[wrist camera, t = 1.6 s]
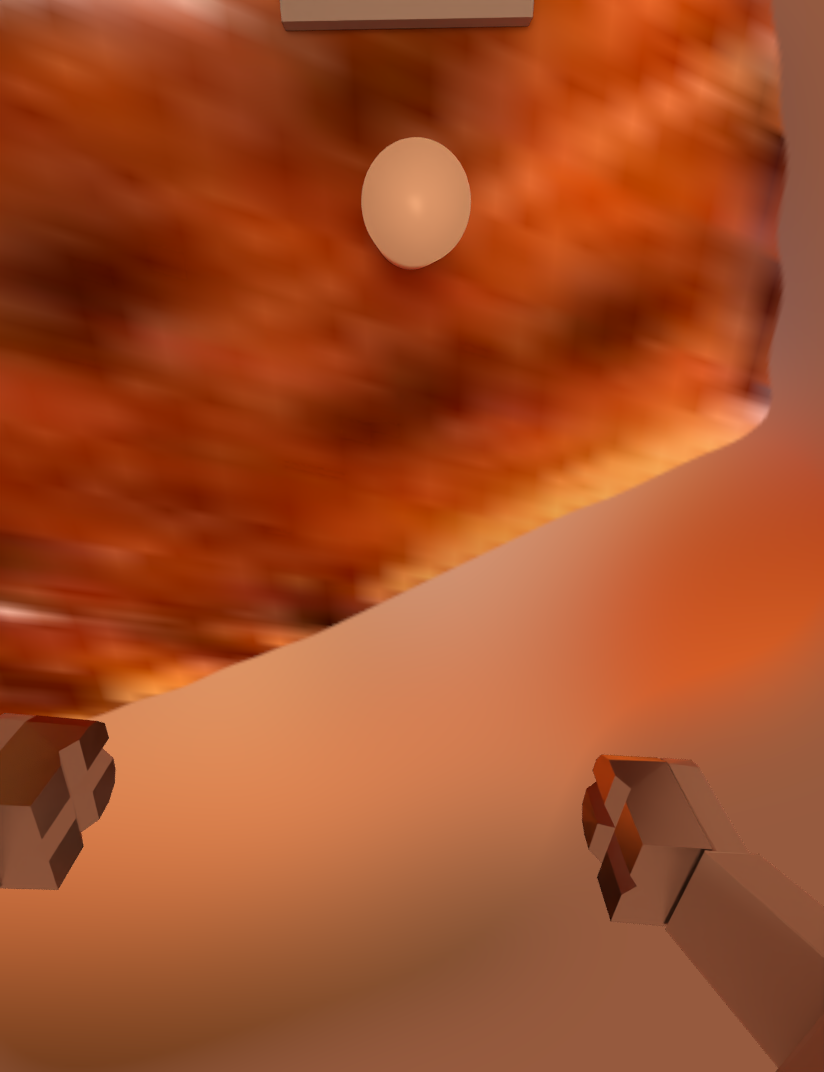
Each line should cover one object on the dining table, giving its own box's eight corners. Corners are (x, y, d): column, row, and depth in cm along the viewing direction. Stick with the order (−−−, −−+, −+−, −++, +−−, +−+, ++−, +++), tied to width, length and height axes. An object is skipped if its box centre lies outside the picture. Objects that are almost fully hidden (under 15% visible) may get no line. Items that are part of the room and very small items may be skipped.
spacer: (374, 270, 36) (364, 266, 26) (371, 183, 34) (357, 138, 23) (448, 268, 36) (469, 264, 26) (449, 181, 34) (472, 135, 23)
